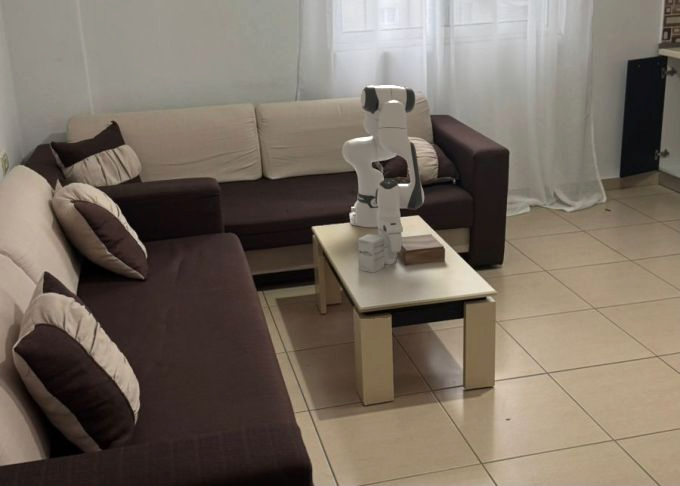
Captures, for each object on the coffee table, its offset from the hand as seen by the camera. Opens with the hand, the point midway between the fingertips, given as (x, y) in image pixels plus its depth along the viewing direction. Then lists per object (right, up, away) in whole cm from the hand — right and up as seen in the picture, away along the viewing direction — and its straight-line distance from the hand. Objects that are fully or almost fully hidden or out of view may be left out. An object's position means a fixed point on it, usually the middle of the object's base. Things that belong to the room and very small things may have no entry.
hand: (388, 255), depth 337 cm
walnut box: (+12, 0, +5) cm, 13 cm away
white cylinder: (0, -2, +1) cm, 2 cm away
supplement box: (-7, -5, -6) cm, 11 cm away
